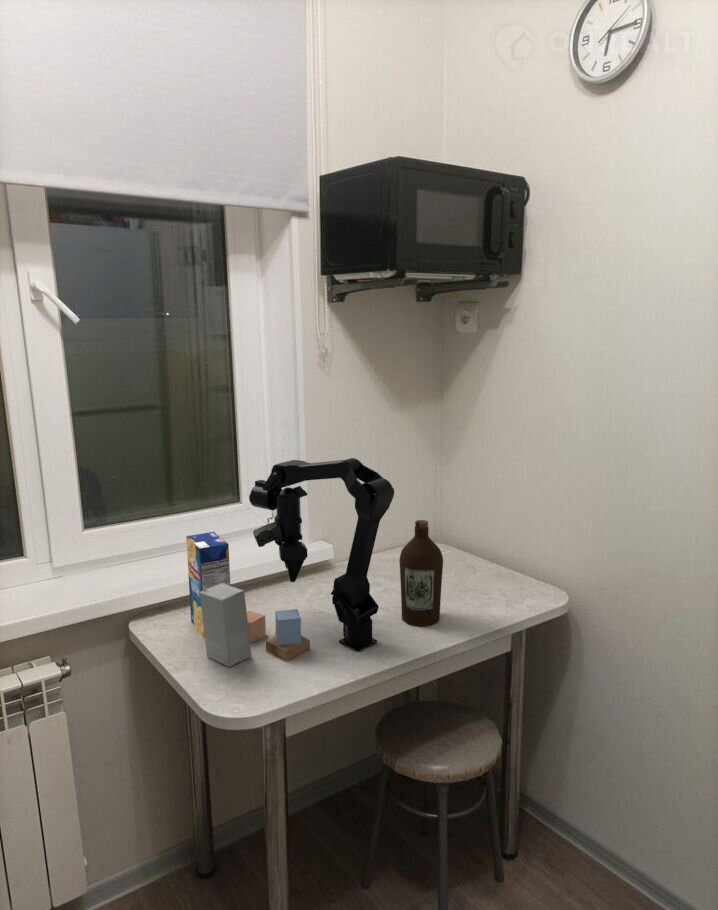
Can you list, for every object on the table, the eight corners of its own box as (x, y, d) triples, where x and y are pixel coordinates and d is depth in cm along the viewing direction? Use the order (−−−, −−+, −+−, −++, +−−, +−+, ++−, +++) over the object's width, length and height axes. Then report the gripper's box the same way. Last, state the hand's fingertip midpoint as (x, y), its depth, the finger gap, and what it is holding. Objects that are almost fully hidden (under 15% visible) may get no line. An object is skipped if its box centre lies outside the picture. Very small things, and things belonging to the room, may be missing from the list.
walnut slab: (310, 652, 154) (309, 639, 153) (286, 663, 149) (285, 650, 148) (289, 642, 158) (289, 630, 158) (265, 653, 153) (265, 640, 153)
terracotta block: (265, 635, 161) (265, 615, 161) (251, 643, 157) (250, 623, 156) (249, 630, 164) (248, 610, 163) (235, 638, 160) (234, 618, 159)
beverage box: (204, 638, 160) (199, 548, 155) (191, 621, 169) (186, 535, 165) (232, 631, 163) (228, 543, 159) (217, 615, 172) (213, 531, 168)
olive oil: (402, 608, 176) (402, 514, 171) (443, 611, 174) (445, 516, 169) (396, 626, 165) (396, 526, 161) (440, 629, 163) (441, 529, 158)
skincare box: (252, 657, 150) (249, 589, 147) (225, 669, 145) (222, 599, 142) (228, 645, 156) (225, 580, 153) (202, 657, 151) (198, 589, 148)
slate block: (275, 635, 155) (275, 611, 154) (297, 633, 156) (297, 609, 155) (278, 645, 150) (278, 620, 149) (301, 643, 151) (300, 618, 150)
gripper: (251, 505, 171) (254, 564, 174) (257, 526, 153) (260, 592, 156) (296, 502, 173) (297, 561, 176) (306, 523, 155) (308, 588, 158)
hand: (290, 574), depth 166 cm, fingers open, 9 cm apart
